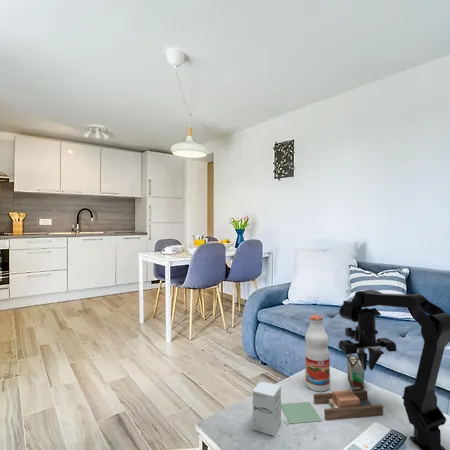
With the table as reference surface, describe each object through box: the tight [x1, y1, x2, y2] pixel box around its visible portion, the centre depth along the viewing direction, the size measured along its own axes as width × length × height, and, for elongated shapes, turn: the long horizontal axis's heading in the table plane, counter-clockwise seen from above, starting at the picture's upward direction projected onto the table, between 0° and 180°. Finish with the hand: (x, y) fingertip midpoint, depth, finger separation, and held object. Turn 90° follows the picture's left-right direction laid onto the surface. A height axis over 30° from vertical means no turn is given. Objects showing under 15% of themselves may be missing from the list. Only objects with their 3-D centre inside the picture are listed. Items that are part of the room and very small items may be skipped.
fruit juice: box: [304, 314, 331, 392], centre depth 122 cm, size 9×9×28 cm
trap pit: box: [360, 400, 373, 406], centre depth 107 cm, size 7×6×1 cm
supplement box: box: [252, 380, 282, 437], centre depth 98 cm, size 7×7×13 cm
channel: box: [313, 389, 384, 421], centre depth 107 cm, size 10×20×3 cm, turn 96°
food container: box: [346, 354, 365, 391], centre depth 122 cm, size 12×6×10 cm, turn 168°
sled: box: [328, 389, 360, 408], centre depth 107 cm, size 7×8×4 cm
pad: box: [281, 401, 323, 425], centre depth 105 cm, size 11×11×1 cm
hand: (367, 369), depth 108 cm, fingers open, 2 cm apart
